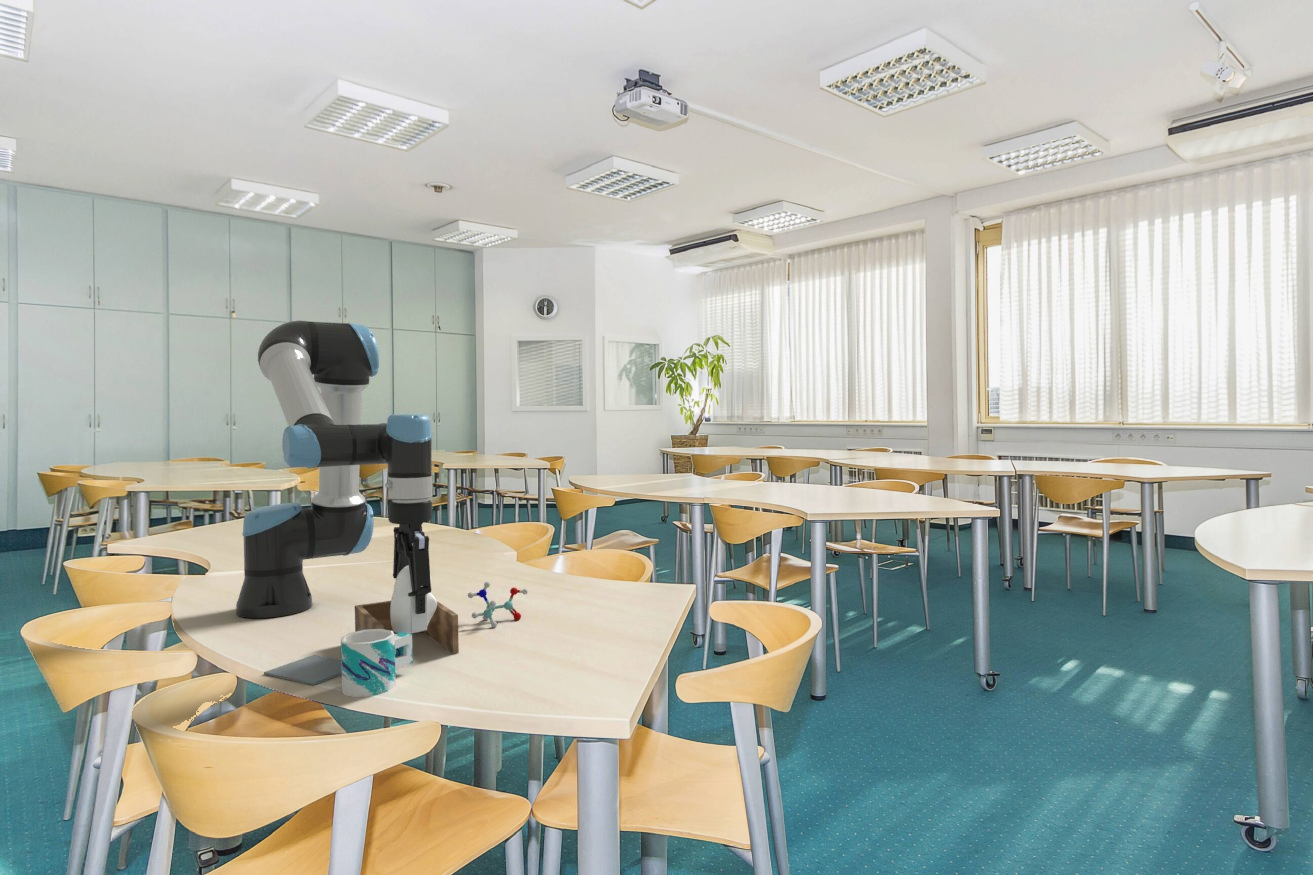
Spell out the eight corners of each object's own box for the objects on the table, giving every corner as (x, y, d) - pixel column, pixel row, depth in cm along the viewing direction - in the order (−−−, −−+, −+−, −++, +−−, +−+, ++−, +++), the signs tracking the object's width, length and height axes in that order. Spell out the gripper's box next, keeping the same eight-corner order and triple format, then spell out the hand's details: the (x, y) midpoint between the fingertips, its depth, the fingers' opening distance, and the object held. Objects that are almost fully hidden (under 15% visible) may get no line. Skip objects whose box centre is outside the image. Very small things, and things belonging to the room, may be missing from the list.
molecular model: (509, 614, 148) (493, 569, 152) (471, 635, 150) (456, 590, 154) (538, 616, 158) (522, 574, 162) (502, 636, 160) (487, 594, 164)
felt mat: (263, 674, 125) (263, 672, 125) (314, 656, 134) (314, 654, 134) (313, 685, 120) (313, 682, 120) (362, 666, 129) (362, 663, 129)
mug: (330, 691, 117) (329, 638, 117) (389, 667, 128) (388, 619, 128) (367, 700, 113) (366, 645, 113) (425, 675, 124) (424, 625, 124)
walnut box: (355, 641, 143) (354, 605, 142) (428, 629, 150) (427, 595, 150) (378, 668, 128) (378, 627, 127) (458, 652, 135) (458, 614, 135)
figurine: (409, 637, 130) (409, 569, 130) (381, 630, 134) (380, 564, 134) (441, 627, 136) (440, 562, 136) (413, 620, 140) (412, 557, 140)
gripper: (374, 495, 141) (376, 614, 142) (405, 508, 123) (407, 643, 124) (414, 492, 145) (416, 608, 146) (449, 505, 127) (451, 636, 129)
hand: (411, 624), depth 135 cm, fingers closed on figurine, 8 cm apart
